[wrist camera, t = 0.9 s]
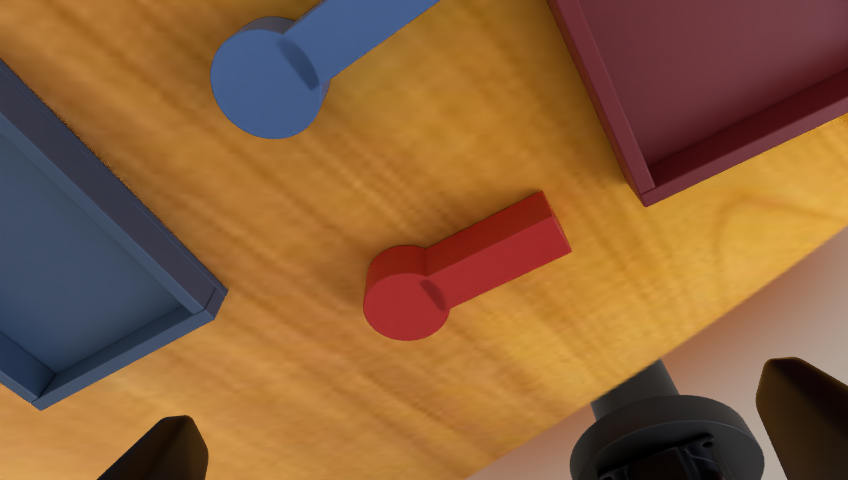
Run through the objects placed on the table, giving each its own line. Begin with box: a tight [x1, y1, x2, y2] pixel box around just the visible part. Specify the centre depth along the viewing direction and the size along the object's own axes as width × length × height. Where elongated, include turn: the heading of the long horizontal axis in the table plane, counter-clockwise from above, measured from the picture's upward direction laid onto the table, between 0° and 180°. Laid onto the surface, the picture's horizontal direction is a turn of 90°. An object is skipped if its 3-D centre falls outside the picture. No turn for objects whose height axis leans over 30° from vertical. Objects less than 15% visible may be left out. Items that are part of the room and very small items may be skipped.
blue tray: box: [0, 59, 228, 411], centre depth 21 cm, size 13×10×2 cm
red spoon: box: [363, 191, 572, 341], centre depth 22 cm, size 8×3×2 cm, turn 121°
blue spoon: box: [210, 0, 440, 139], centre depth 17 cm, size 8×3×2 cm, turn 124°
